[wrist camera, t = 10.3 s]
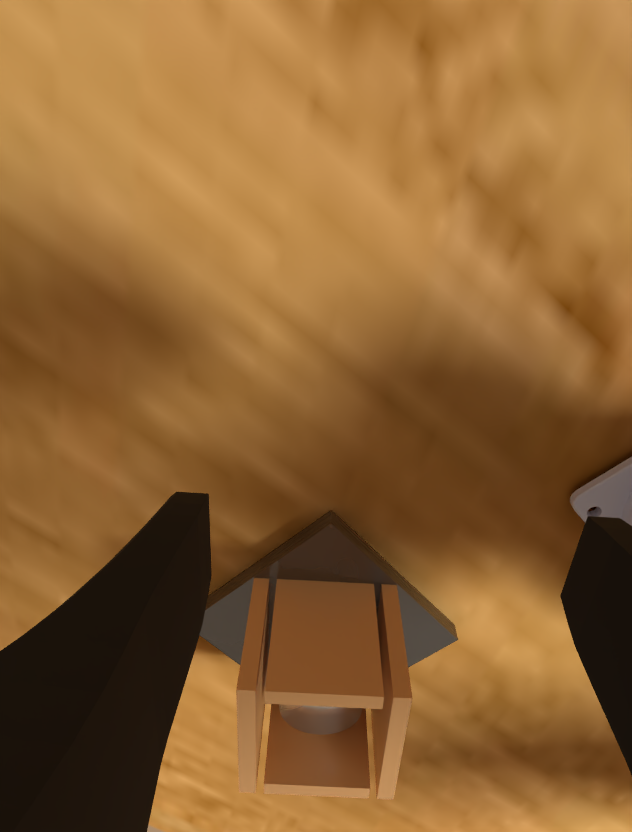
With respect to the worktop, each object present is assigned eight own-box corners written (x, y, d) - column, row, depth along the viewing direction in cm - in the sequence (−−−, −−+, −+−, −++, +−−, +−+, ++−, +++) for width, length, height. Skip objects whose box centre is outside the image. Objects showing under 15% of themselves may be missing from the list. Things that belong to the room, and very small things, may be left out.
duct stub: (454, 624, 26) (475, 717, 22) (314, 703, 28) (312, 798, 24) (331, 510, 23) (331, 593, 19) (189, 609, 25) (164, 699, 22)
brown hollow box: (382, 680, 26) (393, 799, 22) (254, 674, 26) (239, 792, 22) (396, 585, 23) (412, 698, 19) (253, 578, 23) (236, 689, 19)
